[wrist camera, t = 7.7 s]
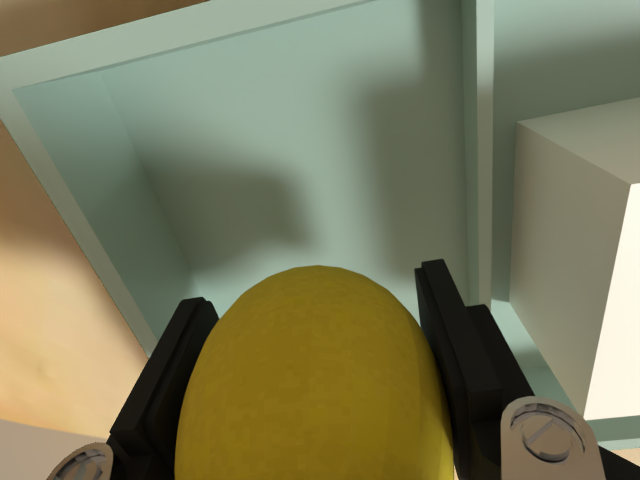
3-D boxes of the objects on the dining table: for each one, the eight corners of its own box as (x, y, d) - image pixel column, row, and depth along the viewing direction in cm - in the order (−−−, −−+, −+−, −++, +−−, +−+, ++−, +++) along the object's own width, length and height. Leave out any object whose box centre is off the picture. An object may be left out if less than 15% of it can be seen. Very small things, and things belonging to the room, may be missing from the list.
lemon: (199, 300, 12) (21, 677, 5) (305, 172, 10) (238, 538, 3) (333, 376, 14) (333, 740, 7) (449, 282, 11) (629, 685, 4)
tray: (80, 51, 11) (-33, 66, 8) (976, -183, 8) (1440, -331, 5) (246, 399, 19) (226, 483, 15) (738, 341, 16) (849, 430, 13)
